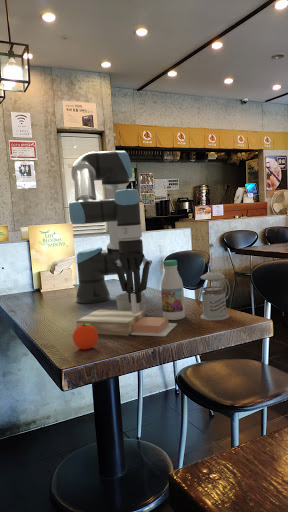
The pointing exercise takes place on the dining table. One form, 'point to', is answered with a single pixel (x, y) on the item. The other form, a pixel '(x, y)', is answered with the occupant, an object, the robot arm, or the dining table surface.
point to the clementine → (85, 336)
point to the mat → (162, 333)
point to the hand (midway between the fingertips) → (135, 312)
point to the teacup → (125, 305)
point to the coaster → (150, 324)
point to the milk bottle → (172, 292)
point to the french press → (214, 297)
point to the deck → (111, 321)
